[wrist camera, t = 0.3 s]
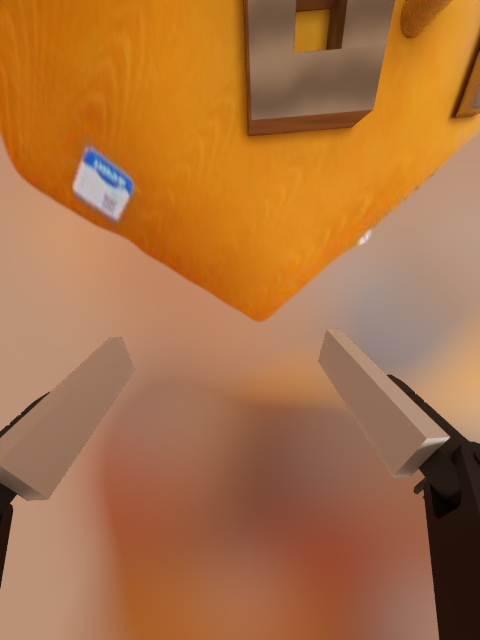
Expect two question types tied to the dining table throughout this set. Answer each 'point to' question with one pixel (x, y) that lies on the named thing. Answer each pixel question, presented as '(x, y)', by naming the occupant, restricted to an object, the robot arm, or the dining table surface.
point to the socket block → (313, 65)
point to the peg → (420, 15)
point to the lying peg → (471, 93)
